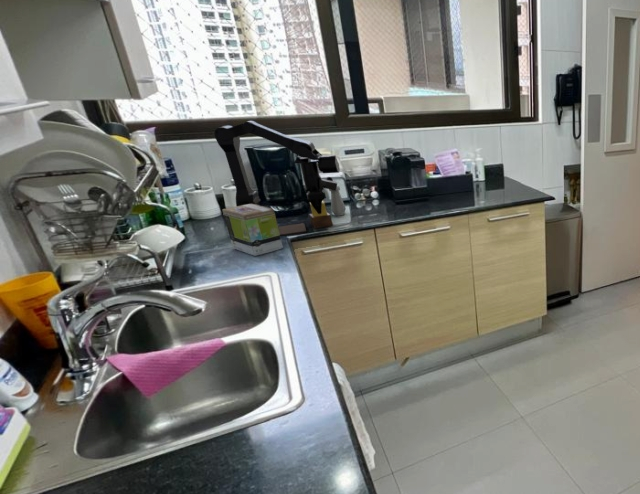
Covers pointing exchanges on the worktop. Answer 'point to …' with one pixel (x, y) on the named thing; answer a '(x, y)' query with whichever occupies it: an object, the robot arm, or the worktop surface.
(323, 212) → the yellow block
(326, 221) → the walnut block
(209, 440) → the worktop surface
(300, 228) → the coaster
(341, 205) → the salt shaker
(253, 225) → the tea box
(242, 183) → the robot arm
